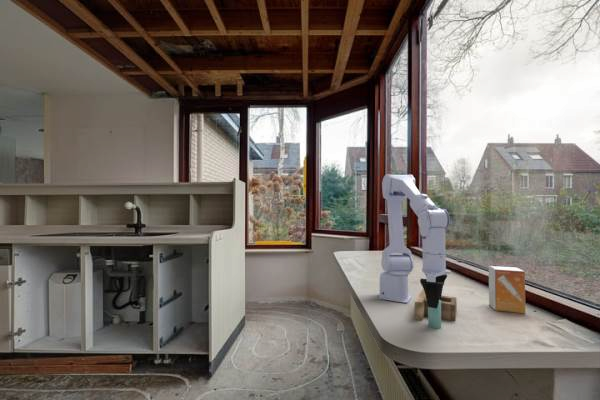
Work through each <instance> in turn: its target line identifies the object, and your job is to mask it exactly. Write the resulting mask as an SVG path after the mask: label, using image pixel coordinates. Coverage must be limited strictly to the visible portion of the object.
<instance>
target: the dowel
mask: <svg viewBox="0 0 600 400" xmlns="http://www.w3.org/2000/svg"><path fill="white" fill-rule="evenodd" d="M427 324H428V325H427V326H428V327H430V328H432V329H441V328H442V318H441V300H439V303H438V307H437V308H431V307H428V316H427Z"/></svg>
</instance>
